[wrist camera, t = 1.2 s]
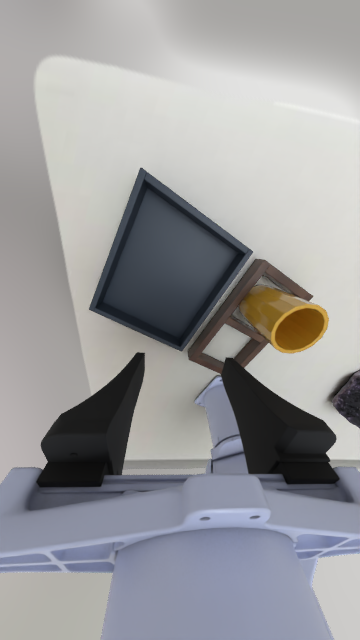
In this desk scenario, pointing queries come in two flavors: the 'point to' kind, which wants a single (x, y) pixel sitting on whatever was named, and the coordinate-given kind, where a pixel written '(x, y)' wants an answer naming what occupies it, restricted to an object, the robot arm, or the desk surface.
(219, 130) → the desk surface
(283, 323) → the cup
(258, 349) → the frame
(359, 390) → the crystal cluster
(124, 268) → the dark blue tray
